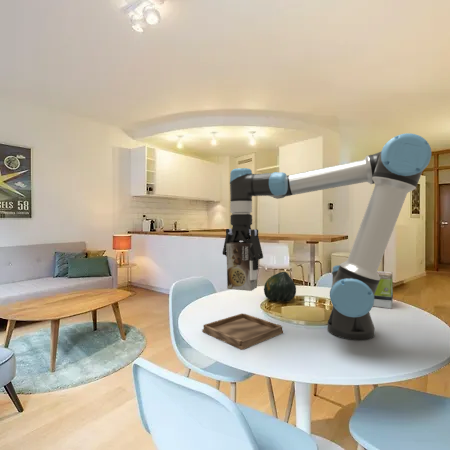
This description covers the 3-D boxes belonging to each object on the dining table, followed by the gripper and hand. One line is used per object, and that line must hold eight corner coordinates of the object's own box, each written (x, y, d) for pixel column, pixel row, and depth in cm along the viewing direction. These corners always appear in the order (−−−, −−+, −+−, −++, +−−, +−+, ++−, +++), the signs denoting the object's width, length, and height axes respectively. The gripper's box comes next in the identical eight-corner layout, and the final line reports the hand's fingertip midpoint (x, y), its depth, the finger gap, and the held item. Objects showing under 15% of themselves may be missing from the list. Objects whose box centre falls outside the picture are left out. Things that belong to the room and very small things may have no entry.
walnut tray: (283, 332, 104) (283, 326, 104) (241, 350, 91) (241, 342, 91) (243, 318, 119) (243, 313, 119) (202, 331, 106) (202, 325, 106)
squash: (258, 285, 153) (266, 266, 143) (284, 284, 157) (294, 266, 147) (266, 310, 142) (275, 291, 133) (294, 308, 147) (305, 290, 137)
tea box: (393, 303, 137) (393, 271, 137) (391, 309, 129) (391, 275, 129) (357, 299, 146) (357, 269, 145) (354, 304, 137) (353, 272, 137)
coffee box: (257, 287, 106) (257, 241, 105) (251, 291, 100) (250, 243, 99) (233, 285, 110) (233, 241, 109) (226, 289, 104) (225, 242, 103)
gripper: (274, 213, 98) (274, 280, 98) (227, 214, 115) (228, 271, 116) (258, 213, 93) (258, 284, 93) (212, 214, 110) (212, 274, 111)
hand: (241, 277), depth 105 cm, fingers closed on coffee box, 10 cm apart
